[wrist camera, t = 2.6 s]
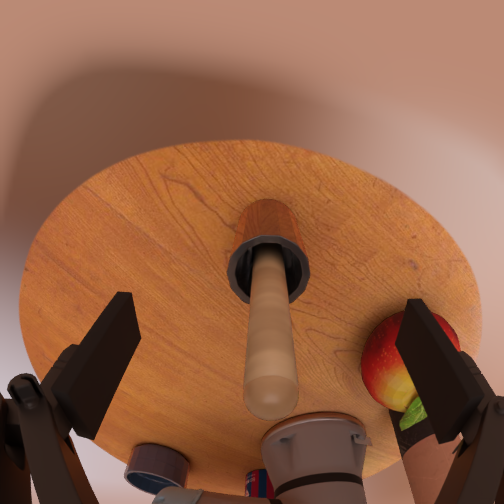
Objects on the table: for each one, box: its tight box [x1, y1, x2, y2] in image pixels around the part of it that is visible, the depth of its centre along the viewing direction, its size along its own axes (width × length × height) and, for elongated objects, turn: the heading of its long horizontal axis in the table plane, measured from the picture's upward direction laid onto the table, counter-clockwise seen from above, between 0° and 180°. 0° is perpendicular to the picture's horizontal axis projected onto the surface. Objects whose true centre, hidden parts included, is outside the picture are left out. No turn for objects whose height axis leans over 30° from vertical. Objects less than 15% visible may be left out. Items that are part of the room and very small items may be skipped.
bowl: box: [124, 444, 190, 495], centre depth 41 cm, size 10×10×6 cm
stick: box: [243, 243, 299, 421], centre depth 18 cm, size 2×2×19 cm
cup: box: [245, 469, 274, 499], centre depth 42 cm, size 7×10×7 cm
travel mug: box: [389, 409, 461, 504], centre depth 27 cm, size 8×8×20 cm
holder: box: [227, 199, 310, 304], centre depth 24 cm, size 5×5×9 cm
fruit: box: [361, 311, 461, 431], centre depth 27 cm, size 11×11×10 cm
